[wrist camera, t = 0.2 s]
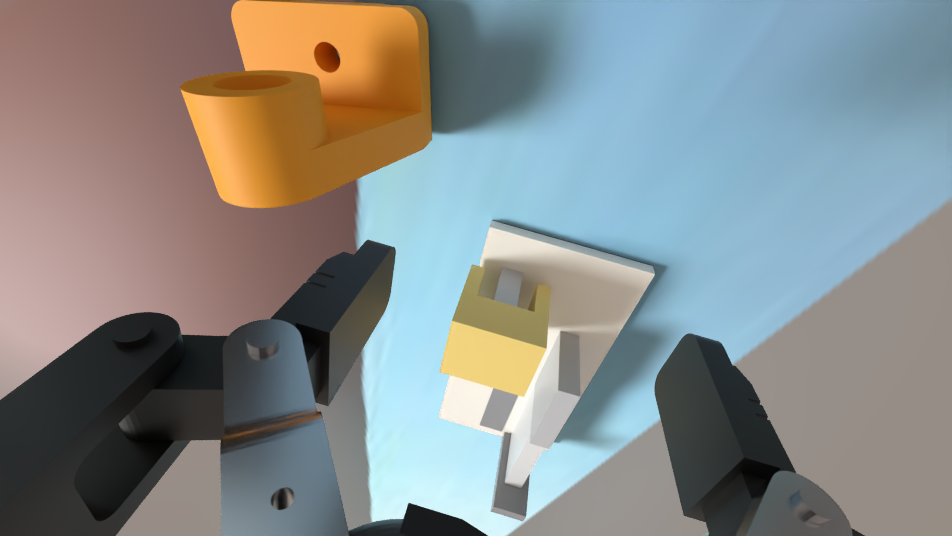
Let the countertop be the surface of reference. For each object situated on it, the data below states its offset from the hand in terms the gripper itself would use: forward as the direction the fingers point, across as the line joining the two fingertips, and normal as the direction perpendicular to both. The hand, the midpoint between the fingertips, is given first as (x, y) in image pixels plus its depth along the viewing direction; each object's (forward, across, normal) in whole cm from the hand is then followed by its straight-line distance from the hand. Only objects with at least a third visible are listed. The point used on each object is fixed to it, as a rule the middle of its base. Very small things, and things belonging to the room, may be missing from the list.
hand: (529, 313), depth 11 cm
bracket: (+18, +13, -1) cm, 22 cm away
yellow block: (+16, 0, +12) cm, 20 cm away
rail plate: (+18, -4, +18) cm, 26 cm away
